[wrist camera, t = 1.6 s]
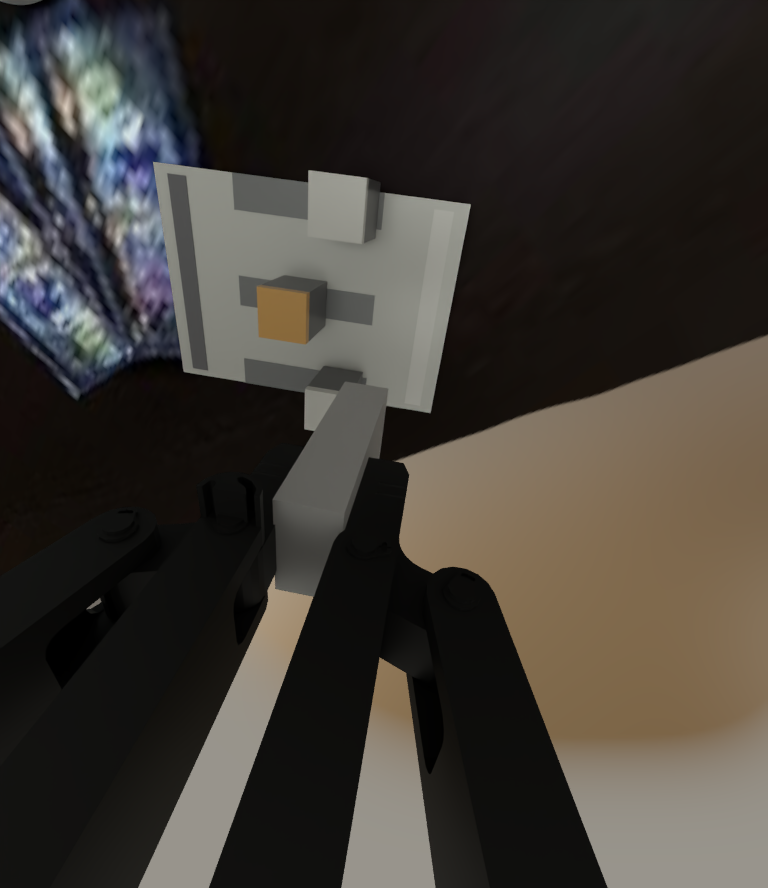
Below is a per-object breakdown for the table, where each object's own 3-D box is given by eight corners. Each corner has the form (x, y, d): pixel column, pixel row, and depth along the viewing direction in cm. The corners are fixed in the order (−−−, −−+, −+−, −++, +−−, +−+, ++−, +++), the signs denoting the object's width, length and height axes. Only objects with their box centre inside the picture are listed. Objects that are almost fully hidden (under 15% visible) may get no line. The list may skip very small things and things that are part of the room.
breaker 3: (322, 401, 32) (304, 429, 28) (323, 365, 31) (305, 389, 27) (359, 408, 32) (346, 436, 28) (363, 372, 31) (349, 396, 27)
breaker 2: (329, 231, 26) (307, 236, 22) (331, 176, 25) (308, 170, 21) (375, 238, 26) (361, 244, 22) (380, 182, 24) (366, 178, 20)
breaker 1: (284, 319, 29) (258, 337, 25) (284, 275, 28) (256, 286, 24) (325, 325, 29) (305, 344, 25) (327, 281, 28) (306, 294, 24)
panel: (197, 363, 35) (183, 372, 33) (171, 164, 27) (152, 161, 26) (431, 402, 33) (430, 413, 32) (469, 204, 26) (470, 204, 24)
